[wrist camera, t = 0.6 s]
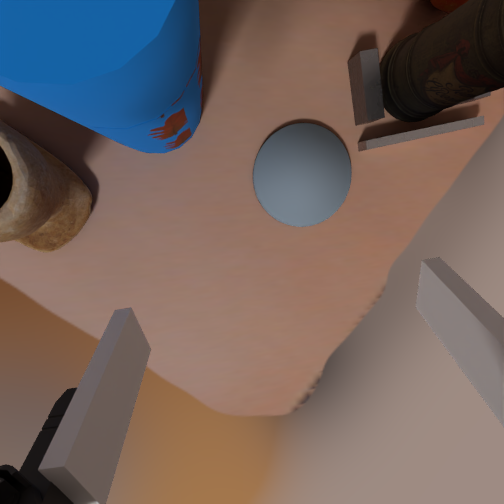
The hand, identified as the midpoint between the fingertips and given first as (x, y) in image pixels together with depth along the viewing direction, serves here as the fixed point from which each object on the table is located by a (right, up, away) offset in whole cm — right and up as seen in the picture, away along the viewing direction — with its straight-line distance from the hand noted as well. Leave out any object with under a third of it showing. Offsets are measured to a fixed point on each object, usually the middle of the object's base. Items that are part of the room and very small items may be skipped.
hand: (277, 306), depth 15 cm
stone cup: (-25, +11, +20) cm, 34 cm away
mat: (+5, +12, +24) cm, 27 cm away
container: (+18, +23, +23) cm, 37 cm away
